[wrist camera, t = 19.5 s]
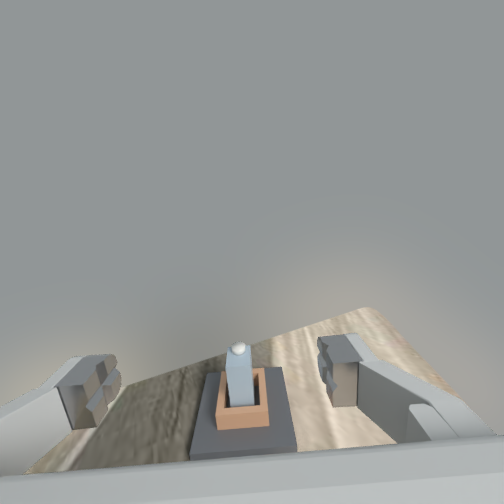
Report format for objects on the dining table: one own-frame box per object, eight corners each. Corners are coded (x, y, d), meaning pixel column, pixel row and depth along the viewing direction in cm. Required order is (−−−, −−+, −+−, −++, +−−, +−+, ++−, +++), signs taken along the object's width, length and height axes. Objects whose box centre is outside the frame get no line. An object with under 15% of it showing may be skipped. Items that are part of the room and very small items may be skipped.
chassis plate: (190, 461, 35) (186, 439, 34) (207, 378, 50) (205, 361, 49) (297, 453, 35) (296, 429, 34) (281, 372, 50) (280, 354, 49)
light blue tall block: (231, 416, 40) (224, 362, 37) (233, 392, 45) (227, 342, 42) (255, 414, 40) (249, 359, 37) (254, 390, 45) (249, 340, 42)
